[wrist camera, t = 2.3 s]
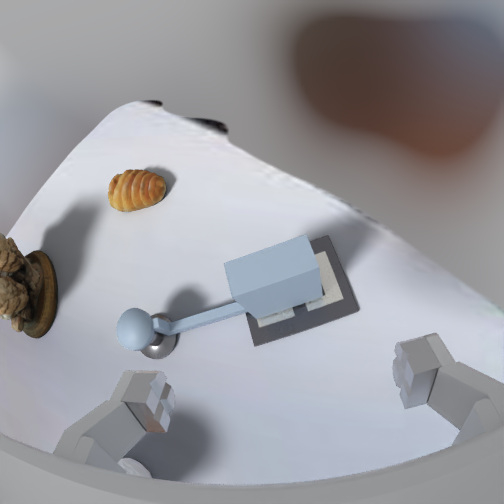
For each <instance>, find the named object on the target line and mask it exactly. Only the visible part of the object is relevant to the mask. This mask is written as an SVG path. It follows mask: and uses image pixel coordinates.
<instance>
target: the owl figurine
mask: <svg viewBox="0 0 504 504" xmlns="http://www.w3.org/2000/svg"><path fill="white" fill-rule="evenodd" d="M57 292H58V289H57V279H56V274H55V270H54V267H53V264H52V262H51V260H50V259H49V257H48V256H47V255H46V254H45V253H43V252H41V251H33V252H31V253H30V254H28V255H26V256H25V257H24V256H23V255H22V253H21V252H20V251H19V250H18V248H17V246H16V244H15V243H14V240H13V239H12V238H8V239H6V238H5V236H4V235H3V234H1V233H0V318H1V319H4V320H9V319H11V321H12V329H14V330H16V331H17V332H21V331H22V330H23V331H24V332H25V333H26V334H27V335H28V336H30V337H33V338H40V337H42V336H43V335H44V334H46V333H47V331H48V330H49V329H50V327H51V325H52V323H53V321H54V318H55V315H56V309H57V300H58V294H57Z"/></svg>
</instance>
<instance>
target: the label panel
mask: <svg viewBox="0 0 504 504" xmlns="http://www.w3.org/2000/svg"><path fill="white" fill-rule="evenodd" d="M310 245H311V247H312V250H313V252H314V255H315V257H316V260H317V263H318V265H319V269H320V277H321V285H322V294H323V297H320V298H317V299H315V300H312V301H309V302H306V303H303V304H300V305H297V306H294V307H291V308H289V309H286V310H283V311H280V312H277V313H274V314H270V315H267V316H264V317H261V318H258V319H256V318H255V317H253V316H252V315H251V314H250V313H249V312H246V316H247V320H248V324H249V328H250V331H251V335H252V339H253V343H254V346H258V345H262V344H265V343H268V342H272V341H275V340H278V339H281V338H284V337H287V336H290V335H294V334H297V333H300V332H303V331H306V330H308V329H311V328H314V327H317V326H320V325H323V324H326V323H329V322H331V321H334V320H337V319H340V318H342V317H345V316H348V315H350V314H353V313H356V312H358V308H357V306H356V303H355V300H354V298H353V295H352V293H351V290H350V287H349V285H348V282H347V280H346V277H345V275H344V272H343V270H342V267H341V265H340V262H339V260H338V258H337V255H336V253H335V250H334V248H333V246H332V243H331V241H330V239H329V236H325V237H322V238H319V239H316V240H314V241H311V242H310Z"/></svg>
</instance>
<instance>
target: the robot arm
mask: <svg viewBox="0 0 504 504" xmlns="http://www.w3.org/2000/svg"><path fill="white" fill-rule="evenodd" d="M395 353H396V356H397V357H396V358H395V359H394V360H393V376H394V381H395V383H396V386H398V387H399V388H401V392H400V397H401V400H402V402H403V405H404V408H405V409H408V408H412V407H415V406H419V405H423V404H426V403H427V405H428V406H430V407H431V408H432V409H433V410H435V411H436V412H437V413H439V414H440V415H441V416H442V417H444V418H445V419H446V420H448V421H449V422H450V423H451V424H453V425H454V426H455V427H457V428H458V429H459V430H460V432H459V434H458V435H457V437H456V439H455V440H454V442H453V444H452V446H451V447H448V448H445V449H443V450H440V451H437V452H434V453H431V454H429V455H426V456H422V457H419V458H416V459H413V460H410V461H406V462H403V463H399V464H396V465H392V466H388V467H384V468H380V469H376V470H371V471H367V472H362V473H357V474H352V475H346V476H341V477H334V478H328V479H321V480H313V481H304V482H293V483H280V484H260V485H221V484H201V483H188V482H178V481H169V480H161V479H154V478H147V477H141V476H136V475H130V474H126V471H125V470H124V469H123V468H122V467H121V466H120V465H119V464H118V462H119V461H120V460H121V459H122V458H123V457H124V456H125V455H126V454H127V453H128V452H129V451H130V450H131V449H132V448H133V447H134V446H135V445H136V443H137V442H138V441H139V440H140V439H141V438H142V437H143V436H144V435H145V434H146V433H147V432H160V433H167V430H168V426H169V423H170V420H171V419H170V417H169V415H168V414H169V413H170V412H171V411H173V409H174V406H175V394H174V391H173V389H172V387H171V386H170V385H169V384H167V383H166V379H167V377H166V376H165V374H164V372H162V371H130V370H126V371H125V372H123V374H122V376H121V378H120V380H119V382H118V384H117V386H116V388H115V390H114V392H113V394H112V396H111V398H110V400H109V401H105V402H104V403H102V404H101V405H99V406H98V407H97V408H95V409H94V410H93V411H91V412H90V413H88V414H87V415H86V416H84V417H83V418H81V419H80V420H79V421H77V422H76V423H74V424H73V425H72V426H70V427H69V428H67V429H66V430H65V431H64V433H63V434H62V436H61V438H60V440H59V442H58V444H57V446H56V448H55V450H54V452H53V454H51V453H49V452H46V451H43V450H40V449H38V448H35V447H32V446H30V445H28V444H25V443H23V442H20V441H18V440H16V439H13V438H11V437H9V436H7V435H5V434H3V433H0V504H504V384H503V383H501V382H499V381H497V380H495V379H493V378H491V377H489V376H487V375H485V374H483V373H481V372H479V371H477V370H475V369H473V368H471V367H469V366H467V365H465V364H463V363H461V362H455V361H454V359H453V357H452V356H451V354H450V352H449V351H448V349H447V348H446V346H445V344H444V343H443V341H442V340H441V338H440V337H439V335H438V334H437V333H432V334H429V335H425V336H423V337H418V338H414V339H410V340H406V341H402V342H398V343H397V344H396V346H395Z"/></svg>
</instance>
